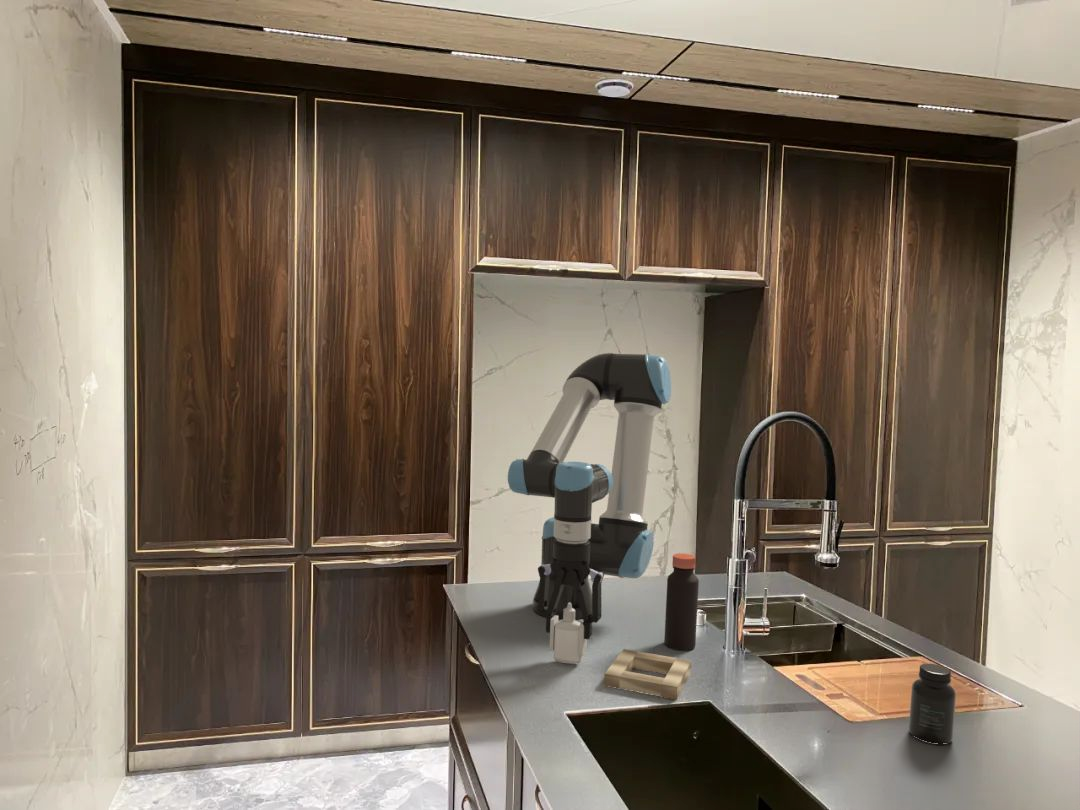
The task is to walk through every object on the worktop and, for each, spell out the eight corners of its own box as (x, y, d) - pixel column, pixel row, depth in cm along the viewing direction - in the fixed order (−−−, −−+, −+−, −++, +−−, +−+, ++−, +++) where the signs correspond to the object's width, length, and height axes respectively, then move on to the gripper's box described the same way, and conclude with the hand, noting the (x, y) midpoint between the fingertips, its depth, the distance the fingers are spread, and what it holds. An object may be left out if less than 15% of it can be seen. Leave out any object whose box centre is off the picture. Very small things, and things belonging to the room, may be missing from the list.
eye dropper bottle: (571, 667, 162) (573, 609, 161) (550, 659, 166) (552, 602, 165) (585, 661, 165) (587, 604, 164) (563, 653, 169) (565, 597, 168)
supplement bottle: (914, 723, 144) (919, 657, 143) (956, 736, 140) (961, 668, 139) (903, 736, 139) (908, 668, 138) (946, 750, 135) (952, 680, 134)
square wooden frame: (623, 660, 168) (623, 648, 168) (690, 672, 163) (691, 660, 163) (604, 686, 155) (604, 673, 155) (676, 700, 150) (677, 687, 150)
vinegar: (693, 641, 181) (698, 553, 180) (696, 652, 174) (701, 561, 173) (663, 638, 182) (667, 551, 180) (664, 650, 175) (669, 559, 174)
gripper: (522, 537, 163) (518, 649, 165) (611, 549, 157) (606, 665, 159) (535, 530, 170) (532, 637, 172) (621, 540, 164) (616, 652, 166)
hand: (567, 650), depth 165 cm, fingers closed on eye dropper bottle, 6 cm apart
